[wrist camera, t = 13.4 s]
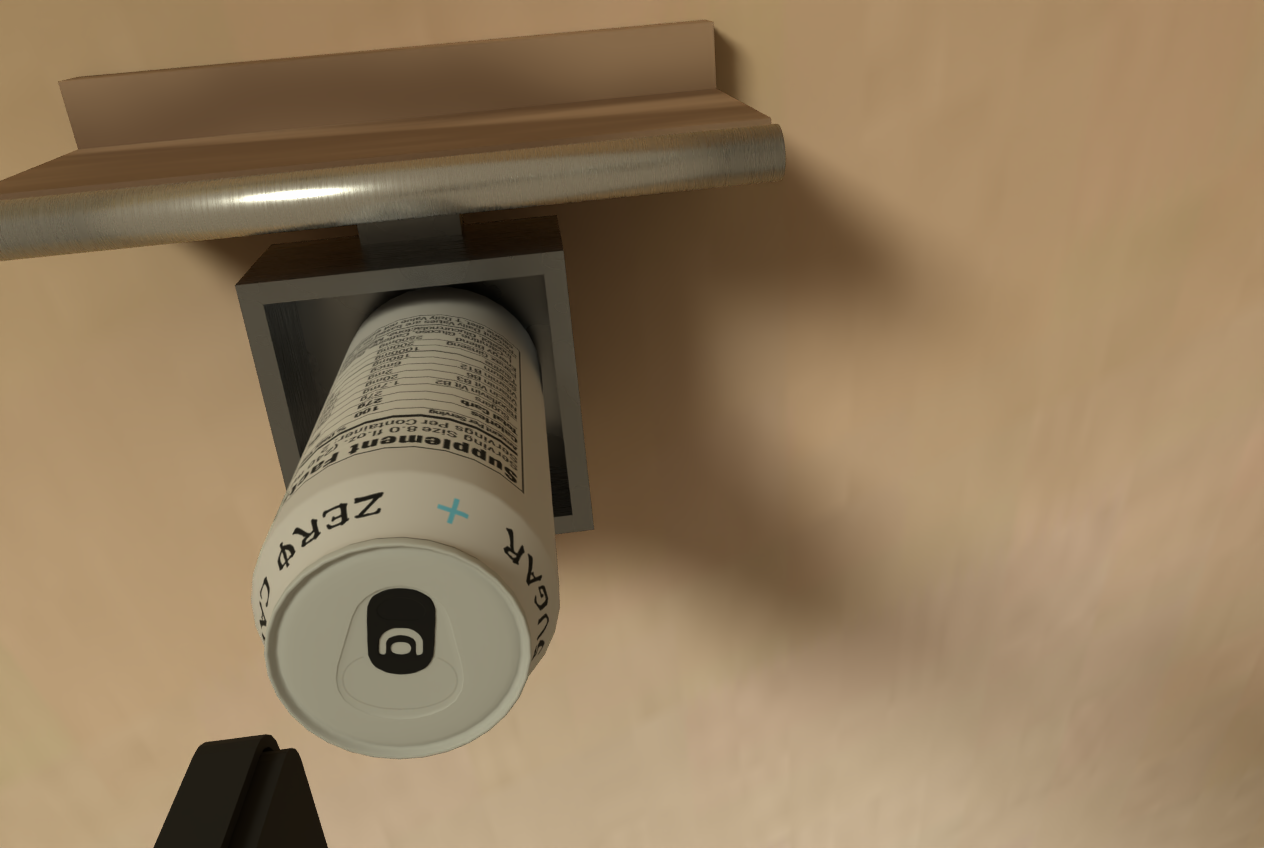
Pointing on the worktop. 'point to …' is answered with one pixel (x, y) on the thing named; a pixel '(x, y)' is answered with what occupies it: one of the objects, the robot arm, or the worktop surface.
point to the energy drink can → (415, 535)
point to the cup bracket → (393, 187)
